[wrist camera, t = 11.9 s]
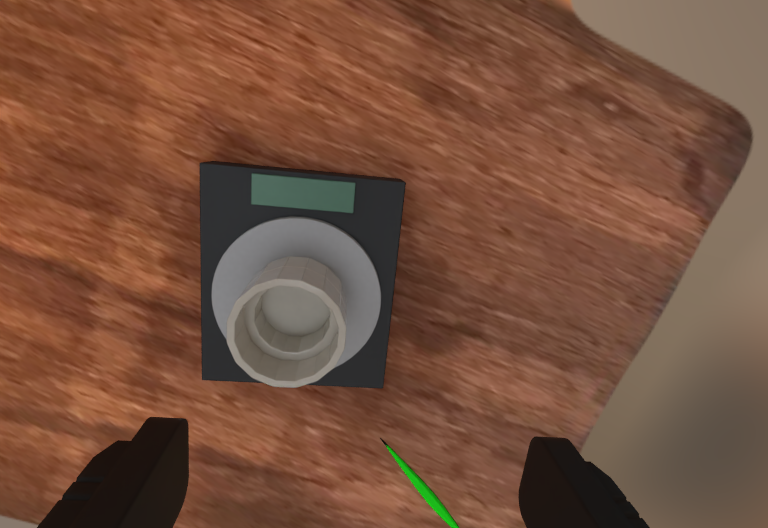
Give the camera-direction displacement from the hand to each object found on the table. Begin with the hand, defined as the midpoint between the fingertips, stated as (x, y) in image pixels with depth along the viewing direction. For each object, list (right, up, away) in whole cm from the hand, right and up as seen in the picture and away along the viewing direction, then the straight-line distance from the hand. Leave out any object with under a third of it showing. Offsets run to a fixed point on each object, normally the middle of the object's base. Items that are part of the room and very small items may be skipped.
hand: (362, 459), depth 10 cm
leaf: (+4, -14, +26) cm, 30 cm away
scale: (-5, +4, +20) cm, 21 cm away
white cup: (-5, +2, +17) cm, 18 cm away
